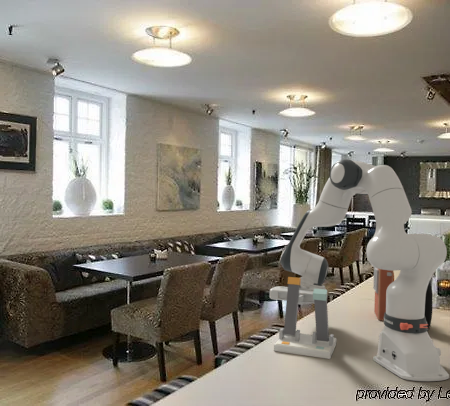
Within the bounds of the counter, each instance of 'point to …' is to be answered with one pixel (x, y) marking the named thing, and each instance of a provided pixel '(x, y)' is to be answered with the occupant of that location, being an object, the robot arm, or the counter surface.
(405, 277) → the robot arm
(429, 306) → the portable speaker
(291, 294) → the lever orange
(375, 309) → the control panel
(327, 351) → the console
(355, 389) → the counter surface
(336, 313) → the counter surface
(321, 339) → the lever teal
